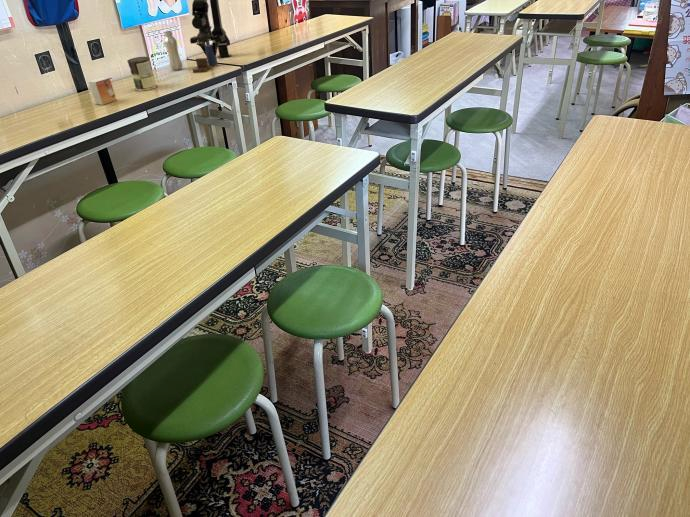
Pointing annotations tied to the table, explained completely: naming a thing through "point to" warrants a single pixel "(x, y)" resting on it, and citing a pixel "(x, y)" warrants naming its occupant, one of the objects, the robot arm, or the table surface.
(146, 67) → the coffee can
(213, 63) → the blue box
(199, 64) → the stand
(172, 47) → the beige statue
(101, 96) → the small box
